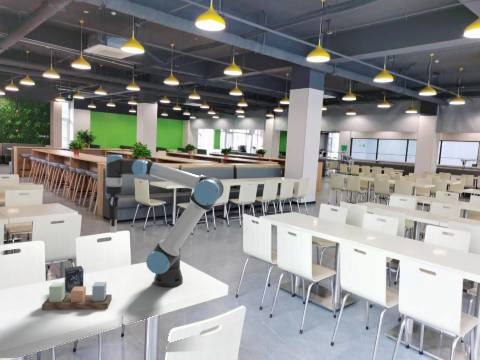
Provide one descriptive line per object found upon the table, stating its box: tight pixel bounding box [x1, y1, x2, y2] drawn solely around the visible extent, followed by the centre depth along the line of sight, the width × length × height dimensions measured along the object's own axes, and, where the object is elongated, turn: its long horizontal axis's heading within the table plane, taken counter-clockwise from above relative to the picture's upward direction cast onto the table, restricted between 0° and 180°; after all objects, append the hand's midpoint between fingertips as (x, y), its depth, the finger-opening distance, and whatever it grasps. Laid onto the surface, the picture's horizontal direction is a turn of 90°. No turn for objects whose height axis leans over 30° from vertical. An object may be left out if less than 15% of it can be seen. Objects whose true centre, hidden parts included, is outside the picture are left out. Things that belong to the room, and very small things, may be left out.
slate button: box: [91, 281, 107, 301], centre depth 169 cm, size 5×5×7 cm
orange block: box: [70, 285, 87, 302], centre depth 168 cm, size 5×5×7 cm
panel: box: [41, 294, 113, 311], centre depth 168 cm, size 27×10×2 cm, turn 99°
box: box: [64, 265, 85, 293], centre depth 186 cm, size 8×6×11 cm
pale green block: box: [48, 281, 66, 303], centre depth 166 cm, size 5×5×7 cm
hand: (113, 232), depth 188 cm, fingers closed
